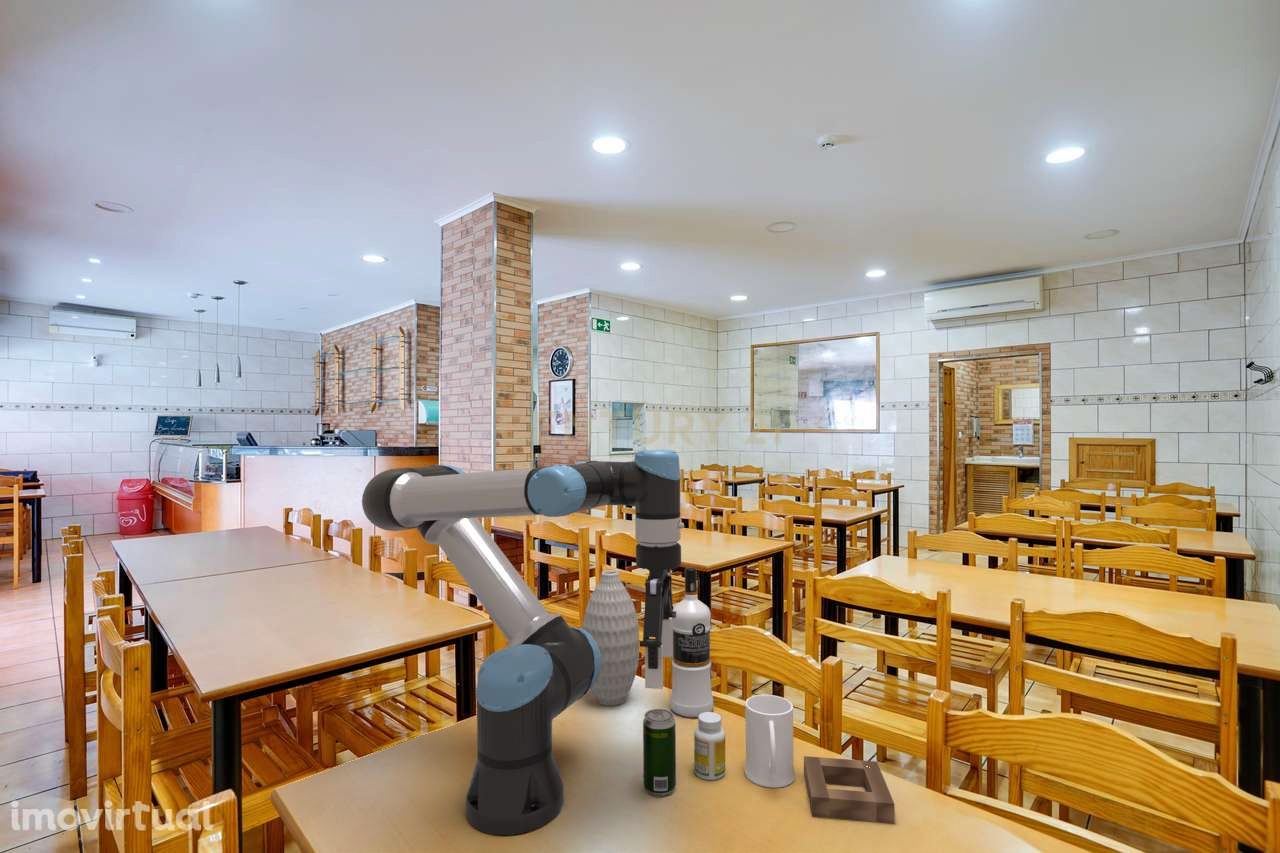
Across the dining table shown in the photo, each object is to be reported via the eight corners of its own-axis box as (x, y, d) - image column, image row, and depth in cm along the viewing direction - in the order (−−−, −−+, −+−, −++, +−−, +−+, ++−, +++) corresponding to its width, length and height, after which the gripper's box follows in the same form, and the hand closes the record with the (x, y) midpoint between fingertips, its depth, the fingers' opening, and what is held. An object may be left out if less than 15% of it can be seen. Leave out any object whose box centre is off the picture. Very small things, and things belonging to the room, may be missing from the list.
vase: (619, 718, 127) (619, 581, 127) (570, 704, 134) (569, 574, 134) (650, 695, 138) (649, 569, 138) (603, 683, 144) (602, 563, 145)
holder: (812, 816, 94) (811, 796, 94) (803, 773, 106) (803, 756, 106) (894, 823, 92) (894, 803, 92) (877, 779, 104) (876, 761, 104)
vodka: (705, 698, 136) (704, 562, 137) (719, 716, 127) (718, 571, 128) (665, 702, 134) (664, 564, 135) (676, 721, 125) (675, 573, 126)
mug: (796, 802, 98) (796, 726, 98) (742, 796, 99) (741, 721, 100) (794, 763, 109) (793, 695, 109) (745, 758, 111) (745, 691, 111)
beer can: (679, 795, 100) (679, 721, 100) (647, 799, 99) (647, 724, 99) (671, 777, 105) (670, 706, 105) (640, 781, 104) (639, 710, 104)
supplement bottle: (695, 781, 104) (695, 724, 104) (693, 764, 109) (692, 709, 109) (727, 781, 104) (727, 724, 104) (723, 764, 109) (723, 709, 109)
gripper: (672, 558, 89) (674, 704, 89) (687, 531, 114) (688, 646, 114) (622, 556, 91) (623, 701, 90) (647, 530, 115) (648, 644, 115)
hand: (659, 671), depth 102 cm, fingers open, 13 cm apart
